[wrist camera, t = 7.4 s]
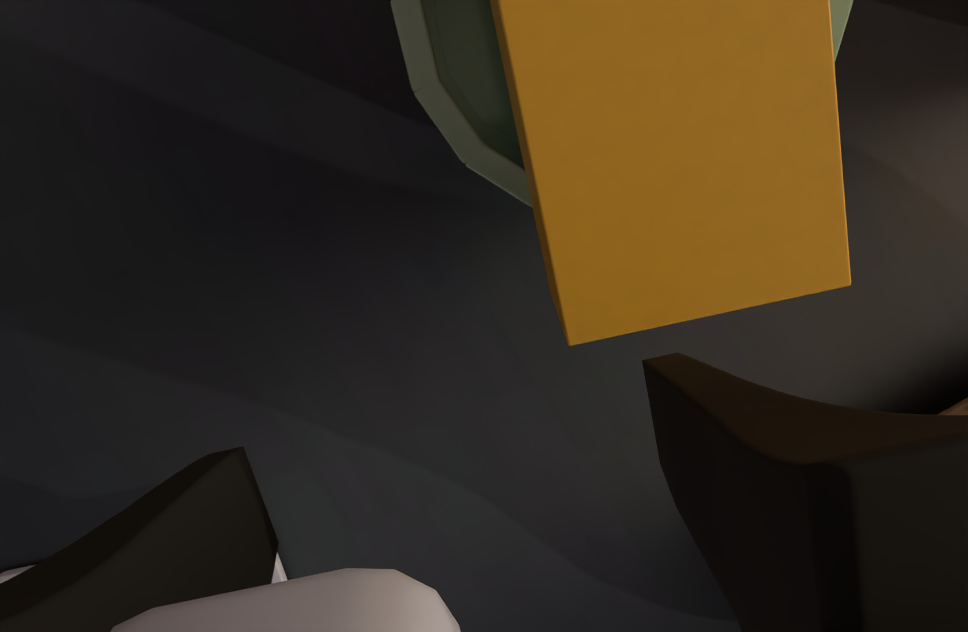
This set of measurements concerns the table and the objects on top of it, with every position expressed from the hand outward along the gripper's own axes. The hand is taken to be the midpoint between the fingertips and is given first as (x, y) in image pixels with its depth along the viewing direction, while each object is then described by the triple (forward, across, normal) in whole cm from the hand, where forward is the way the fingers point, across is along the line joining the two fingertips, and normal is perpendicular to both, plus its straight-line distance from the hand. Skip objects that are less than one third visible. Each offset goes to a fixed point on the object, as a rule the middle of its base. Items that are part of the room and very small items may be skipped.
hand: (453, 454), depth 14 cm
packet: (+4, -5, -7) cm, 9 cm away
